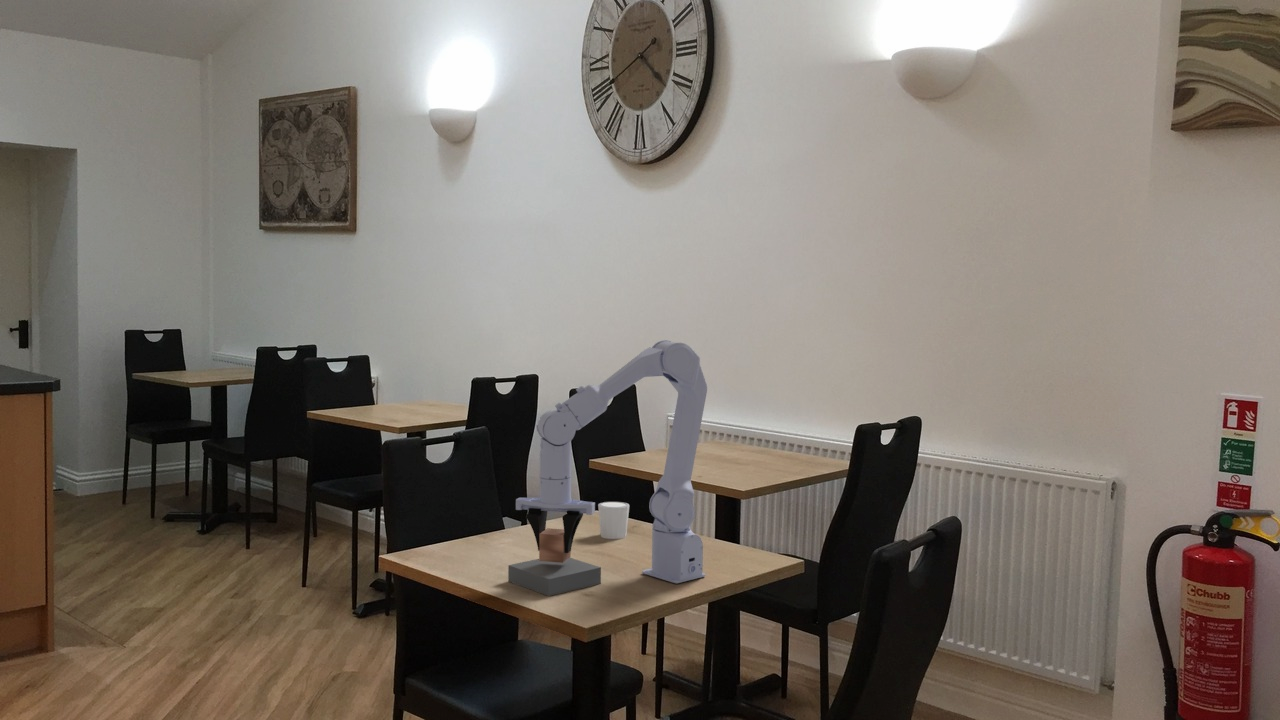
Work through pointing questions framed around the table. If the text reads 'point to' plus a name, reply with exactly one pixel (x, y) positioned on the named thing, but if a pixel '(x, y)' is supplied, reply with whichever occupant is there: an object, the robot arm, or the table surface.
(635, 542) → the table surface
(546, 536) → the terracotta cube
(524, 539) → the table surface
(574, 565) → the charcoal plinth
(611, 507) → the white tapered cylinder
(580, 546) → the table surface
